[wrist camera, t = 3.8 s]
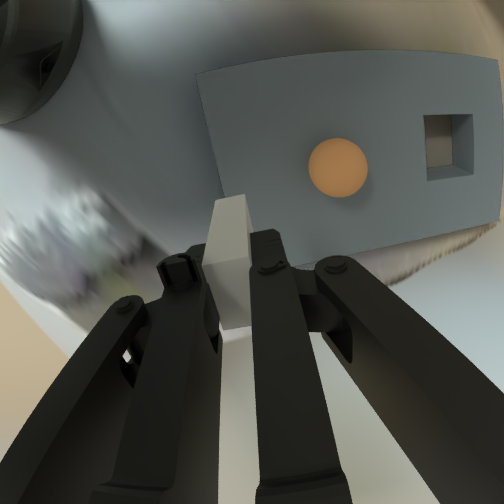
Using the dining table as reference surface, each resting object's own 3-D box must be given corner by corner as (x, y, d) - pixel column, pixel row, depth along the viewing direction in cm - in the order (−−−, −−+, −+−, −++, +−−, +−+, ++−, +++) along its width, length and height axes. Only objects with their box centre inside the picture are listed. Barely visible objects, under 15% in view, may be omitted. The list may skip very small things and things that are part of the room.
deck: (243, 255, 29) (244, 275, 26) (200, 77, 22) (195, 74, 19) (479, 208, 28) (498, 220, 25) (475, 59, 20) (497, 59, 17)
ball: (307, 191, 23) (320, 210, 19) (298, 138, 21) (311, 148, 18) (358, 182, 23) (378, 200, 19) (352, 131, 21) (374, 139, 17)
